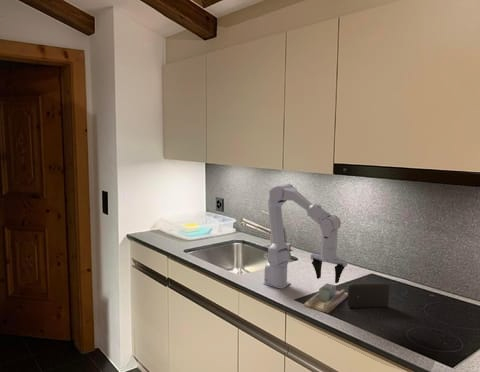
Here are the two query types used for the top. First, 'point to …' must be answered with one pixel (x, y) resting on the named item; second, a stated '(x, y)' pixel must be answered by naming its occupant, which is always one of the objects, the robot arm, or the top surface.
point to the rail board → (324, 305)
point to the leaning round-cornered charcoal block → (368, 294)
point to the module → (327, 292)
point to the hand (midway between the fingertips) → (327, 280)
